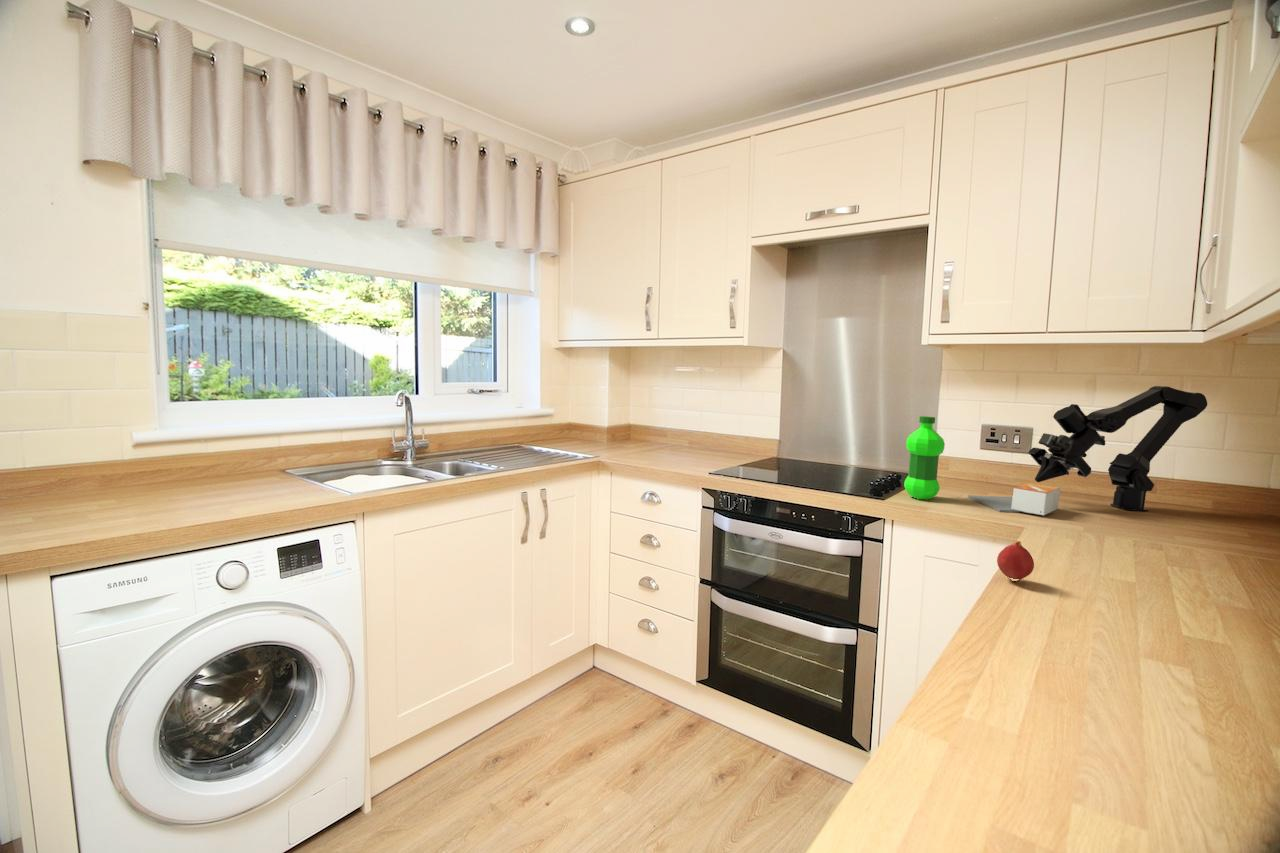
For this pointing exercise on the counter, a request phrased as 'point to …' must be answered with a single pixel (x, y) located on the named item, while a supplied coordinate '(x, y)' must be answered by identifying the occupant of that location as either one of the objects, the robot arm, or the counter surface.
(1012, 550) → the onion
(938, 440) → the plastic bottle
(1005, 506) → the mat
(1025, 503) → the small box
